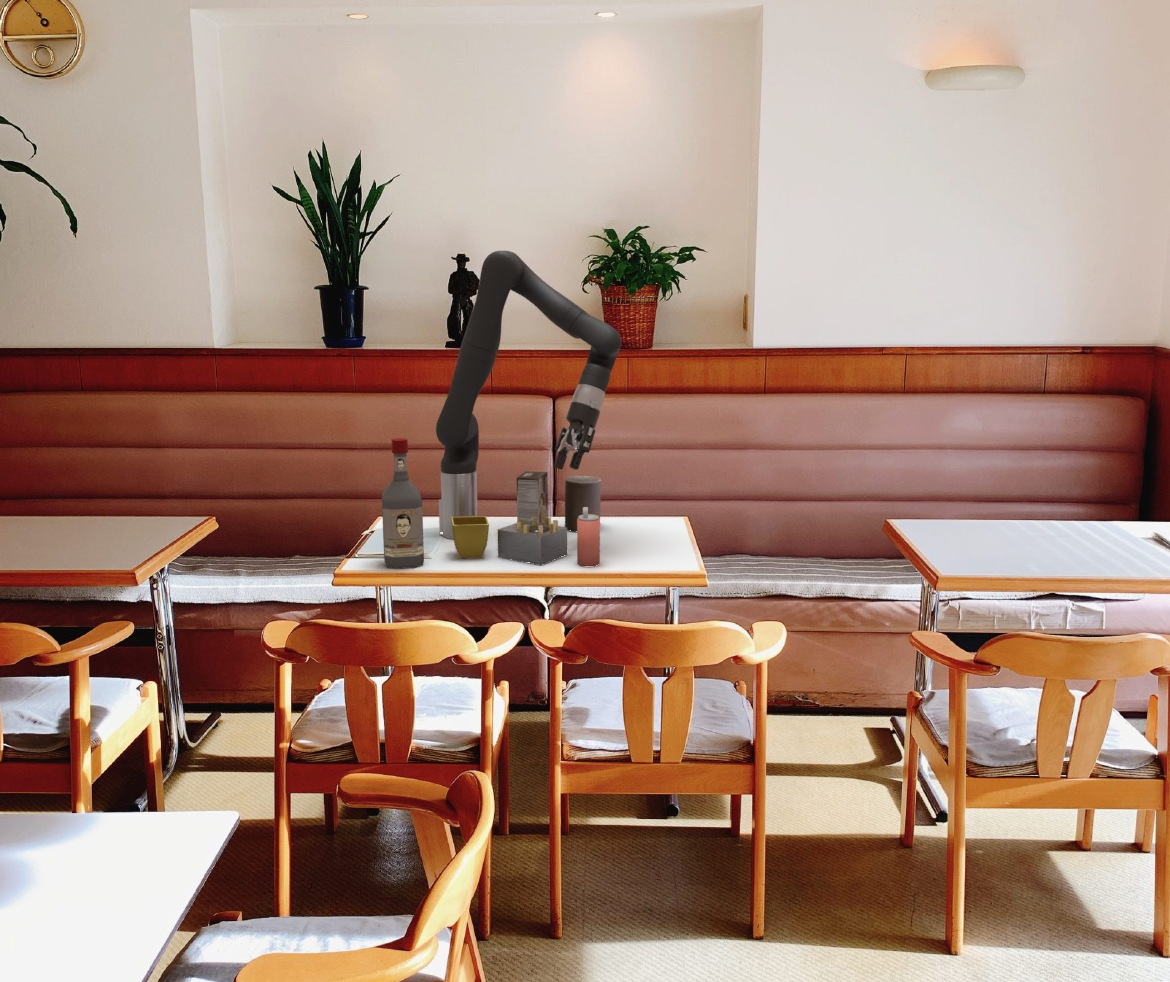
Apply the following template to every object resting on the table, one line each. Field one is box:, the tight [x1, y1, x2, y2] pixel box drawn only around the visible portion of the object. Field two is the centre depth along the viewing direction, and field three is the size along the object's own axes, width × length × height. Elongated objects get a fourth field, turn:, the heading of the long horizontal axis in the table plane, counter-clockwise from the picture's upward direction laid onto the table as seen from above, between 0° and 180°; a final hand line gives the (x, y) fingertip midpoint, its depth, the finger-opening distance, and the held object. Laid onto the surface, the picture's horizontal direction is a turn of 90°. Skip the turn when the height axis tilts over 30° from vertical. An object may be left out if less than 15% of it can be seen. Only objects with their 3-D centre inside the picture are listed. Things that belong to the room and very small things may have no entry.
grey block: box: [497, 516, 568, 566], centre depth 255 cm, size 16×11×9 cm
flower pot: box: [451, 515, 490, 559], centre depth 255 cm, size 9×9×9 cm
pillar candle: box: [564, 474, 602, 531], centre depth 281 cm, size 10×10×15 cm
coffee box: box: [516, 471, 549, 524], centre depth 276 cm, size 9×6×16 cm
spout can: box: [576, 507, 601, 567], centre depth 248 cm, size 5×5×14 cm
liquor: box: [381, 437, 425, 570], centre depth 246 cm, size 9×9×30 cm
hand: (565, 468), depth 253 cm, fingers open, 8 cm apart
